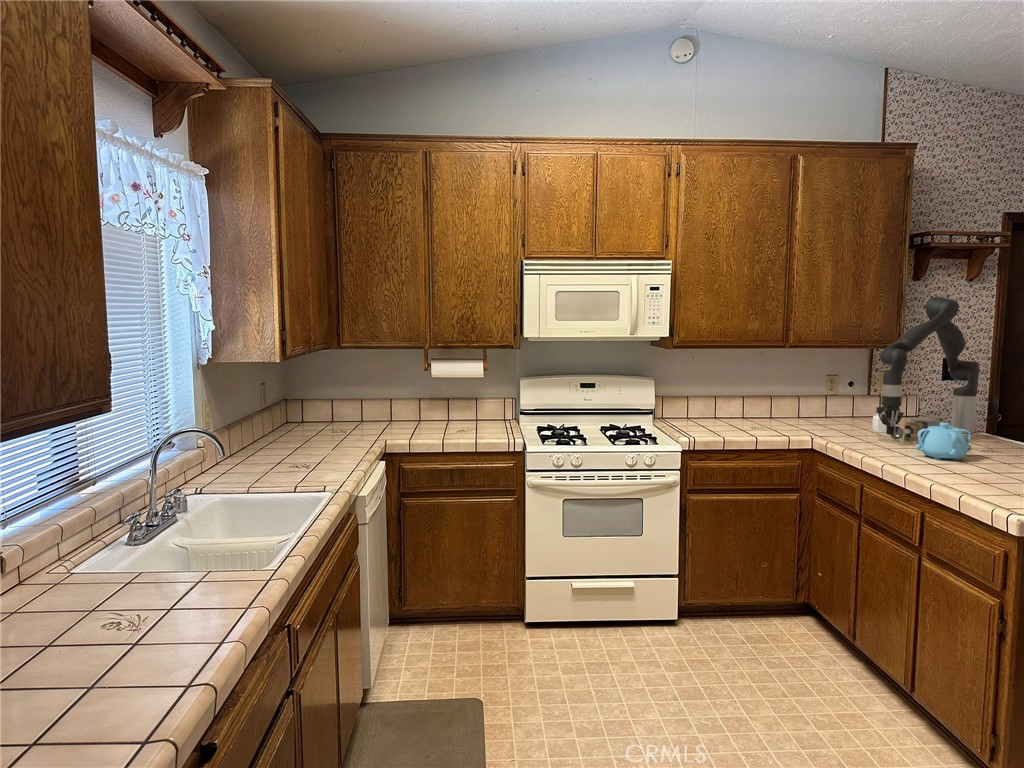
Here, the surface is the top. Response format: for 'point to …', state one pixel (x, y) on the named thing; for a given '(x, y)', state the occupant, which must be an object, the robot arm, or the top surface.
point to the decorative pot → (944, 442)
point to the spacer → (916, 428)
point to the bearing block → (909, 440)
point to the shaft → (901, 432)
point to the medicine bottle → (878, 422)
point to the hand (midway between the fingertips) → (890, 434)
